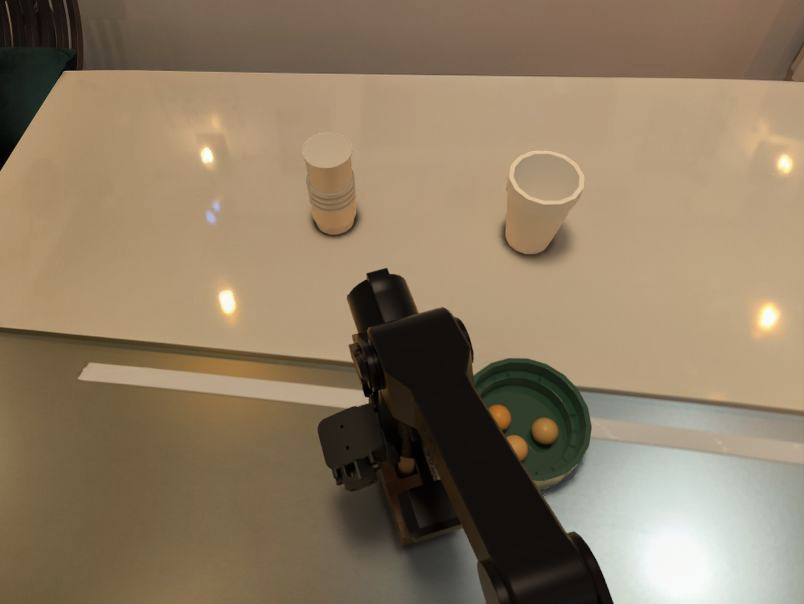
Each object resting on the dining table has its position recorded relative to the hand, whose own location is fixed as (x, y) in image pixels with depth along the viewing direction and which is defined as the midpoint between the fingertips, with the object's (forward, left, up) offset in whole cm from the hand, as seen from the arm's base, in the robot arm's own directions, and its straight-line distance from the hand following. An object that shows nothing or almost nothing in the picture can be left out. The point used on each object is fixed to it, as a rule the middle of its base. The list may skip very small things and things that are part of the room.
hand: (407, 457), depth 65 cm
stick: (0, 0, -6) cm, 7 cm away
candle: (+39, -2, -7) cm, 40 cm away
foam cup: (+27, -28, -7) cm, 40 cm away
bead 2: (-1, -13, -4) cm, 13 cm away
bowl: (+1, -15, -6) cm, 16 cm away
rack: (0, 0, -6) cm, 7 cm away
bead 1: (+3, -12, -4) cm, 13 cm away
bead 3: (0, -17, -4) cm, 17 cm away
